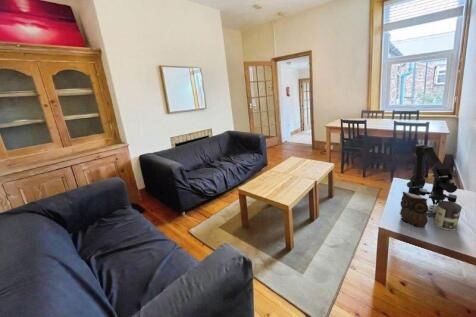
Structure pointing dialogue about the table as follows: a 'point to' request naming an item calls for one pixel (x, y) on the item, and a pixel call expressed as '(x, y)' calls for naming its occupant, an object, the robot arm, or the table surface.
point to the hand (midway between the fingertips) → (434, 206)
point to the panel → (430, 212)
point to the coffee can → (447, 215)
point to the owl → (414, 210)
